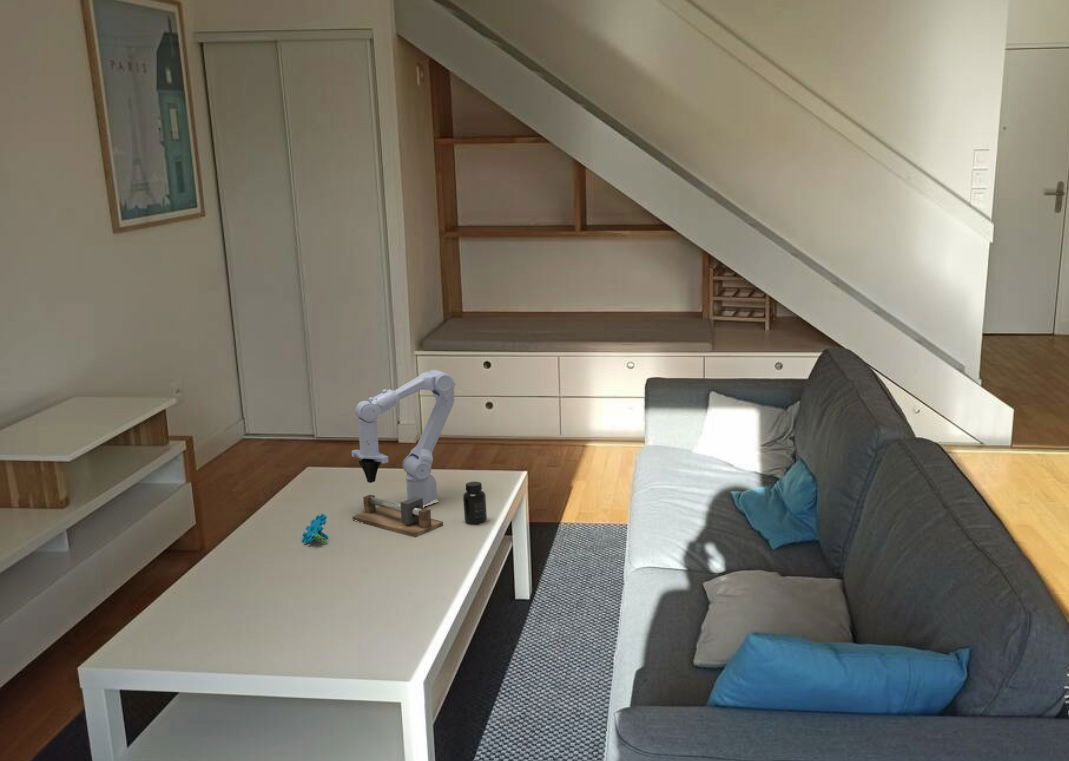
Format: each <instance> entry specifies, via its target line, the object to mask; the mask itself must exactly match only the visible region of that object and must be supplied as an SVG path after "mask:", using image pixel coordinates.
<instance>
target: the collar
mask: <svg viewBox="0 0 1069 761" xmlns="http://www.w3.org/2000/svg"><path fill="white" fill-rule="evenodd" d="M399 504H400V505H401V521H402V523H404V524H408V525H409V524H412V523H414V522H417V521H419V516H417V515H412V507H415V508H420V509H424V508H423V498H419V497H413V498H411V499H408V500H407V499H406V500H403V501H400V503H399Z"/></svg>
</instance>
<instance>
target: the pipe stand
mask: <svg viewBox="0 0 1069 761" xmlns="http://www.w3.org/2000/svg"><path fill="white" fill-rule="evenodd" d="M362 498H363V512H361V513H358V514H355V515H353V516H352V517H351V518H352V520H353V519H354V520H357V521H359V522H358V523H361V522H363V523H362V524H365V523H366V524H365V525H368V524H369V525H368V526H372V525H373V526H372V527H375V528H376V527H377V528H379V529H384V530H387V531H391V532H395V533H398V534H400V535H401V534H402V535H406V536H408V537H414V538H417V537H419V536H421V535H424V534H426V533H429V532H431V531H433V530H435V529H438V528H440V527H443V526H444V521H441V520H438V519H434V518H432V513H431V511H432V510H431V509H430V508H427V507H425V508H423V509H420V508H415V507H412V515H417V516H419V521H417V522H414V523H412V524H409V525H408V524H404V523H402V521H401V505H400V503H398V502H395V501H391V500H386V499H383V498H378V497H376V495H373V494H368V495H366V496H363V497H362ZM354 520H353V521H354ZM357 521H356V522H357Z"/></svg>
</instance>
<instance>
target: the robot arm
mask: <svg viewBox="0 0 1069 761" xmlns="http://www.w3.org/2000/svg"><path fill="white" fill-rule="evenodd" d="M455 386H456V383H455V381H454V378H453V377H452V375H450V374H449V373H447V372H443V371H441V370H439V369H436V368H431V369H429V370H428V371H424V372H422V373H421V374H420V375H418V376H417V377H415V378H413V379H412V380H410V381H409V382H407V383H405V384H403V385H402V386H400V387H398V388H396V389H394V390H393V389H382V390H381V393H379V394H377V395H374V396H373V397H372V396H370V397H368V400H362V401H360V402H358V403H357V405H356V407H355V409H354V414H355V416H356V417H357V421H358V423H357V424H358V441H359V449H353V450H351V457H353V458H358V459H361V460H359V461H358V465H360V466H361V469H362V471H363V473H364V475H365V478H366V481H367V483H369V484H372V483H374V482H376V479H377V474H378V471H379V468H380V465H381V464H383V465H384V464H387V463H389V455H385V454H383V453H381V452H380V450H379V434H378V433H379V432H378V418H379V417H380V415H382V414H384V413H386V412H388V411H390V410H391V409H393V408H395V407H397V406H398V405H399V402H400V401H401V400H402V399H405V398H407V397H409V396H411V395H413V394H415V393H417V392H419V391H421V390H423V391H431V393H432V395H433V396H434V399H435V404H434V406H433V408H432V410H431V413H430V415H429V417H428V419H427V422H426V424H425V427H424V429H423V431H422V433H421V435H420V438H419V440H418V442H417V444H416V446H414V447H413V448H412V449H411V450H410V453H409V454H408V455H407V456H406V457H405V458H404V460H403V461H402V468H403V471H404V472H405V473H406V476H405V480H406V481H405V482H406V498H407V499H406V500H408V499H411V498H413V497H419V498H423V505H426V504H428V503H430V502H431V501H433V500H436V499H437V500H438V488H437V480H436V479H435V476H434V475H432V474H431V473H432V464H433V463H434V462H433V461H434V458H433V451H434V449H435V447H436V444H437V442H438V440H439V438H440V435H441V433H442V431H443V429H444V426H445V425H446V422H447V420H448V418H449V416H450V413H451V411H452V409H453V407H454V405H455Z"/></svg>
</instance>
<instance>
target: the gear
mask: <svg viewBox="0 0 1069 761" xmlns="http://www.w3.org/2000/svg"><path fill="white" fill-rule="evenodd" d="M327 518H328V516H327V515H325V514H324V513H320V514H317V515H316V516H315V519H314V518H313V519H311V520H310V524H309V525H307V526H306V527H305V530H306V532H305V531H303V533H302V535H301V536H302V538H301V541H302V542H303V543H304V544H306V545H307V544H309V543H312V542H313V541H314V538H315V539H316V541H318V542H322V543H323V544H324V545H328V541H326V540H327V539H328V538H329V536H328V534H326V533H325V532H323V530H324V527H323V525H324V526H325V525H326V524H327V522H328V521H327Z"/></svg>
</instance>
